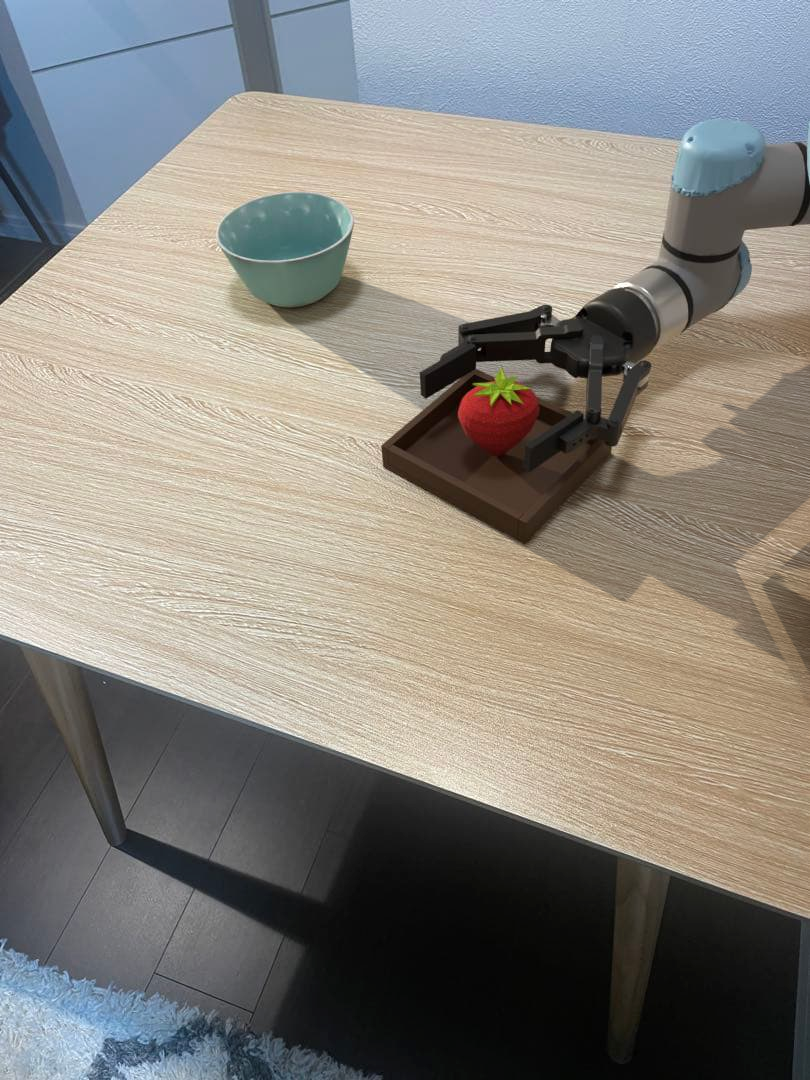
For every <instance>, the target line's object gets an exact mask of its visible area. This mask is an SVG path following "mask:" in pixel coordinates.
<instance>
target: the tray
mask: <svg viewBox="0 0 810 1080" xmlns="http://www.w3.org/2000/svg"><path fill="white" fill-rule="evenodd" d="M492 381H495V376H493V375H491V374H489V373H487V372H484V371H483V370H479V369H478V368H476V369H475V370H473V371H472V372H470V373H468V374H467V375H465V376H463V377H462V378H460V379H458V380H457V381H455V382H453V383H452V385H451V386H450V387H448V388H447V389H446V390H445V391H444V392H443V393H441V394H440V395H439V396H438V397H437V398H435V399H434V400H433V401H432V402H431V403H429V404H428V405H427V406H426V407H425V408H423V410H422V411H420V412H419V413H418V414H416V415H415V416H414V417H413V418H412V419H410V421H408V422H407V423H405V424H404V426H402V427H401V428H400V429H398V431H396V432H395V433H393V435H392V436H391V437H389V438H388V439H387V440H386V441H384V443H382V444H381V445H380V448H381V460H382V467H383V468H385V469H386V470H389V471H390V472H392V473H394V474H396V475H397V476H399V477H401V478H403V479H405V480H406V481H409V482H410V483H412V484H415V485H416V486H418V487H419V488H421V489H424V490H425V491H426V492H428V493H431V494H433V495H434V496H435V497H438V498H440V499H441V500H443V501H445V502H447V503H449V504H451V505H453V506H454V507H456V508H458V509H460V510H462V511H463V512H466V513H468V514H469V515H471V516H472V517H474V518H476V519H478V520H480V521H482V522H483V523H485V524H487V525H489V526H491V527H493V528H494V529H496V530H498V531H500V532H502V533H504V534H506V535H508V536H509V537H511V538H513V539H515V540H517V542H520V543H522V544H523V545H526V544H527V543H528V542H529V541H530V539H531V538H533V536H534V535H535V534H536V533H537V532H538V531H539V530H540V529H541V528H542V527H543V526H544V525H545V524H546V523H547V522H548V521H549V519H550V518H551V517H552V516H553V515H554V514H555V513H557V511H558V510H559V509H560V508H561V507H562V506H563V505H564V504H565V502H567V501H568V499H570V497H571V496H572V495H573V494H574V493H575V492H576V491H577V490H578V489H579V488H580V487H581V486H582V484H584V483H585V481H587V479H588V478H589V477H590V476H591V475H593V473H594V472H595V471H596V470H597V469H598V468H599V467H600V466H601V465H602V464H603V463H604V462H605V460H607V458H609V457H610V455H611V454H612V449H613V447H610V446H607V445H606V444H605V443H604V441H605V440H602V439H598V438H596V439H594V440H588V441H587V442H585V443H584V444H582V445H581V446H579V447H578V448H577V449H575V450H574V451H572V452H570V453H567V454H565V453H563V452H562V451H560V452H558V453H557V454H556V455H554V456H553V457H551V458H550V459H548V460H547V461H545V462H544V463H542V464H541V465H539V466H538V467H536V468H535V469H534V470H532V471H531V472H529V471H527V470H526V469H525V468H524V453H525V444H527V443H528V442H530V441H531V440H533V439H534V438H536V437H537V436H539V435H541V434H542V433H544V432H545V431H547V430H548V429H550V428H551V427H553V426H554V425H556V424H557V423H559V422H560V421H562V420H563V419H565V418H566V417H568V416H569V415H571V414H572V413H573V412H572V411H569V410H567V409H565V408H563V407H561V406H559V405H556V404H554V403H552V402H550V401H548V400H545V399H544V398H541V397H539V396H537V400H538V405H539V415H538V417H537V419H536V421H535V423H534V426H533V428H532V430H531V431H530V432H529V433H528V434H527V435H526V436H525V437H524V438H523V439H522V440H521V441H520V442H519V443H518V444H517V445H516V446H514V447H513V448H511V449H510V450H509V451H508V452H507V453H505V454H504V455H502V456H493V455H491V454H490V453H489V452H488V451H486V450H485V449H483V448H481V447H480V446H478V445H477V444H476V443H475V442H474V441H473V440H472V439H471V438H469V437H468V436H467V435H466V434H465V432H464V430H463V427H462V425H461V423H460V420H459V418H458V411H459V407H460V403H461V400H462V398H463V397H464V396H465V395H466V394H467V393H468V392H469V391H471V390H472V389H474V388H475V387H477V386H475V385H473V383H487V382H492ZM583 419H585V417H583Z"/></svg>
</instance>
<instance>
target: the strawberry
mask: <svg viewBox="0 0 810 1080" xmlns="http://www.w3.org/2000/svg"><path fill="white" fill-rule="evenodd" d="M499 366H500V369H499V370H498V372H496V374H495V376H494V377H495V381H492V382H487V383H473V385H475V386H477V387H475V388H474V389H472V390H471V391H469V392H468V393H467V394H466V395H465V396H464V397H463V398H462V400H461V403H460V407H459V411H458V418H459V420H460V423H461V425H462V427H463V430H464V432H465V434H466V435H467V436H468V437H469V438H471V439H472V440H473V441H474V442H475V443H476V444H477V445H478V446H480V447H481V448H483V449H485V450H486V451H488V452H489V453H490V454H491V455H493V456H502V455H504V454H505V453H507V452H508V451H509V450H510V449H511V448H513V447H514V446H516V445H517V444H518V443H519V442H520V441H521V440H522V439H523V438H524V437H525V436H526V435H527V434H528V433H529V432H530V431H531V430H532V428H533V426H534V423H535V421H536V419H537V417H538V415H539V405H538V400H537V397H538V396H537V394H536V392H534V391H533V390H532V387H530V386H529V387H528V386H526V385H524V384H522V383H520V382H516V381H517V379H518V378H519V376H513V377H507V375H506V373H505V370H504V367H503V364H501V363H500V364H499Z"/></svg>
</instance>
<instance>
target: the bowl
mask: <svg viewBox="0 0 810 1080" xmlns="http://www.w3.org/2000/svg"><path fill="white" fill-rule="evenodd" d="M354 227H355V217H354V214H353V212H352V210H351V209H350V208H349V206H347V204H345V203H344V202H343V201H341V200H340V199H338V198H335V197H333V196H330V195H328V194H323V193H319V192H312V191H284V192H283V191H282V192H278V193H277V192H276V193H272V194H271V193H270V194H266V195H262V196H259V197H257V198H253V199H251V200H248V201H246V202H244V203H242V204H240V205H238V206H237V207H235V208H233V209H232V210H231V211H229V212H228V213H227V214H226V215H225V216H224V217H223V218H221V220H220V222H219V223H218V224H217V228H216V231H215V240H216V243H217V244H218V247H220V250H221V251H222V253H223V255H224V257H225V258H226V259H227V261H228V262H229V264H230V265H231V267H232V269H233V270H234V271H235V273H236V275H238V278H239V279H240V280H241V281H242V283H243V284H244V286H245V287H246V288H247V290H248V291H249V293H250V294H251V295H252V296H254V297H255V298H256V299H258V300H259V301H262V302H264V303H266V304H269V305H272V306H275V307H279V308H299V307H300V308H301V307H304V306H308V305H312V304H313V303H316V302H318V301H319V300H322V299H323V298H324V297H325V296H327V295H328V294H329V293H330V292H332V291H333V290H334V289H335V288H336V287H337V286H338V284H339V283H340V280H341V278H342V274H343V271H344V267H345V263H346V259H347V256H348V253H349V249H350V246H351V245H350V244H351V241H352V235H353V231H354Z"/></svg>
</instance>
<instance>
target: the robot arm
mask: <svg viewBox="0 0 810 1080" xmlns="http://www.w3.org/2000/svg"><path fill="white" fill-rule="evenodd" d="M684 133H685V134H684V135H683V137H682V139H681V142H680V144H679V148H678V151H677V154H676V158H675V163H674V167H673V170H672V172H671V177H670V190H669V195H668V202H667V208H666V216H665V222H664V223H665V224H664V229H663V233H662V238H661V243H660V247H659V254H658V258H657V260H656V261H655V262H652V263H651V264H650V265H648V266H647V267H645V268H643V269H642V270H640V271H638V272H637V273H635V274H633V275H632V276H630V277H628V278H626V279H625V280H623V281H622V282H620V283H618V284H615V285H614V286H613V287H612V288H611V289H608V290H607V291H605V292H603V293H602V294H600V295H598V296H596V297H594V298H593V299H592V300H590V301H588V302H586V303H585V304H584V305H583V306H582V307H581V309H580V310H579V311H578V312H577V313H576V314H575V316H573V317H570V318H567V319H561V320H560V319H558V318H557V317H556V316H554V315H553V307H552V306H551V305H550V304H542V305H539V306H538V307H535V308H533V309H531V310H529V311H523V312H518V313H513V314H508V315H502V316H498V317H493V318H488V319H487V318H486V319H483V320H477V321H472V322H471V321H470V322H466V323H461V324H459V325H458V326H457V338H458V339H457V342H458V343H457V344H458V345H456V346H455V347H453V348H451V349H450V350H448V351H446V352H444V353H443V354H441V356H440V357H439V361H437V362H435V363H433V364H431V365H429V366H428V367H427V368H425V369H422V370H421V371H420V372H419V385H420V387H419V389H420V396H421V397H423V398H424V399H426V400H427V399H428V398H430V397H432V396H433V395H435V394H436V393H438V392H440V391H442V390H444V389H445V388H446V387H448V386H450V385H451V384H452V385H453V384H454V383H456V382H457V381H458V380H459V379H460V378H462V377H463V376H465V375H467V374H468V373H470V372H472V371H473V370H475V369H477V363H489V362H490V363H491V362H493V363H494V362H512V361H513V362H515V361H516V362H517V361H536V363H538V364H541V365H542V364H551V365H553V366H554V367H556V368H558V369H561V370H563V371H565V372H567V374H568V375H569V376H570V377H573V378H574V379H578V378H580V379H586V382H585V383H586V384H585V408H584V409H585V410H584V412H581V411H580V410H578V409H576V410H575V411H573V412H572V414H571V415H569V416H568V417H566V418H565V419H563V420H562V421H560V422H559V423H557V424H556V425H554V426H553V427H551V428H550V429H548V430H547V431H545V432H544V433H542V434H541V435H539V436H537V437H536V438H534V439H533V440H531V441H530V442H528V443H527V444H525V453H524V468H525V469H526V470H527V471H529V472H531V471H532V470H534V469H535V468H536V467H538V466H539V465H541V464H542V463H544V462H545V461H547V460H548V459H550V458H551V457H553V456H554V455H556V454H557V453H558V452H560V451H562V452H563V453H565V454H567V453H570V452H572V451H574V450H575V449H577V448H578V447H579V446H581V445H582V444H584V443H585V442H587V441H588V440H594V439H596V438H598V439H602V440H605V441H604V443H605V444H606V445H607V446H610V447H612V448H613V447H616V446H618V445H619V442H620V439H621V436H622V435H623V432H624V429H625V427H626V424H627V422H628V420H629V417H630V415H631V412H632V409H633V406H634V404H635V401H636V399H637V397H638V396H639V395H640V394H641V393H642V392H643V391H645V390H646V389H647V388H648V385H649V380H650V374H651V370H652V362H650V361H649V360H646V359H645V358H647V357H648V356H649V355H650V354H651V353H653V352H655V351H656V350H658V349H660V348H662V347H663V346H664V345H666V344H667V343H668V342H670V341H672V340H673V339H675V338H676V337H677V336H679V335H681V334H683V333H684V332H686V330H687V329H689V328H691V327H692V326H693V325H695V324H697V323H698V322H700V321H702V320H704V319H706V318H707V317H708V316H710V315H712V314H714V313H717V312H718V311H721V310H722V309H724V308H725V307H726V306H727V305H728V304H729V303H730V302H731V301H733V300H734V299H735V298H736V297H737V296H738V295H740V294H741V293H742V292H743V291H744V290H745V288H746V287H747V286H748V284H749V282H750V280H751V277H752V272H753V264H752V263H751V262H752V261H751V258H750V255H751V253H750V250H749V248H748V246H747V245H746V243H745V242H744V241H743V237H744V234H745V231H749V230H761V229H772V228H783V227H794V226H803V225H805V226H807V225H810V122H809V124H808V131H807V133H808V134H807V141H802V142H801V141H793V142H789V141H788V142H778V143H777V142H776V143H766V139H765V135H764V133H763V132H762V131H761V130H760V129H759V128H758V127H756V126H755V125H753V124H751V123H749V122H747V121H743V120H739V119H737V120H728V119H726V118H714V119H713V118H712V119H708V120H704V121H701V122H699V123H697V124H695V125H693V126H691V127H690V128H689V129H688V130H687V131H686V132H684ZM548 340H551V342H550V348H549V351H546V343H547V342H546V341H548ZM644 359H645V360H644ZM621 374H622V379H621V381H622V385H621V387H620V388H619V391H618V394H617V397H616V399H615V401H614V404H613V405H612V408H611V411H610V413H609V416H608V418H605V417H604V416H602V410H603V409H602V391H603V378H604V377H606V378H607V377H615V376H620V375H621ZM583 418H585V419H583Z"/></svg>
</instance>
